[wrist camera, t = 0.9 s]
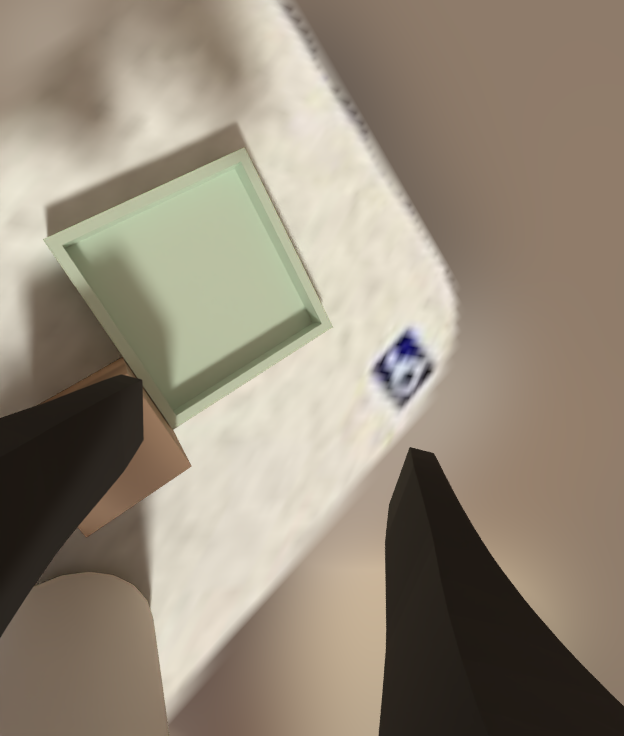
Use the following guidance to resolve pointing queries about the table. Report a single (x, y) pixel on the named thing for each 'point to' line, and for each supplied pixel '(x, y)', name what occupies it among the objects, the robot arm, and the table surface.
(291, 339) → the tray
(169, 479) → the block
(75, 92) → the table surface
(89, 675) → the can
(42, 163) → the table surface
